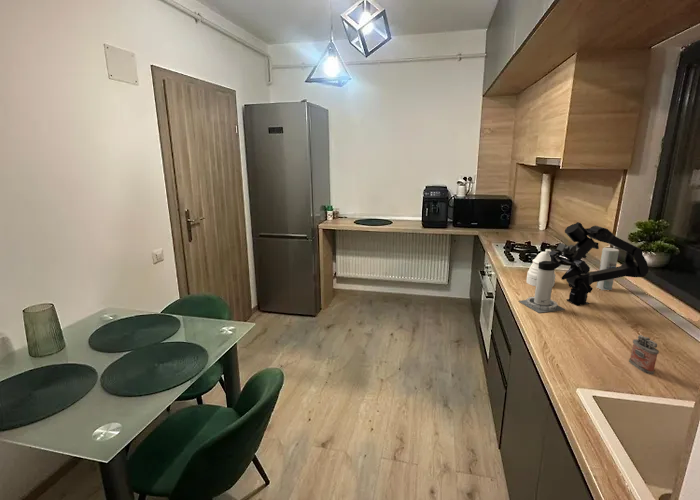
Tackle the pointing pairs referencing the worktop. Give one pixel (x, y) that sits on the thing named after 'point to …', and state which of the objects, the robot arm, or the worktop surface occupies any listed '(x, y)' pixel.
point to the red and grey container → (644, 354)
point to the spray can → (608, 266)
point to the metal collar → (547, 308)
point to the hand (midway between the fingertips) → (554, 275)
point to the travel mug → (544, 283)
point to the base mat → (541, 310)
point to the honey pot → (534, 267)
